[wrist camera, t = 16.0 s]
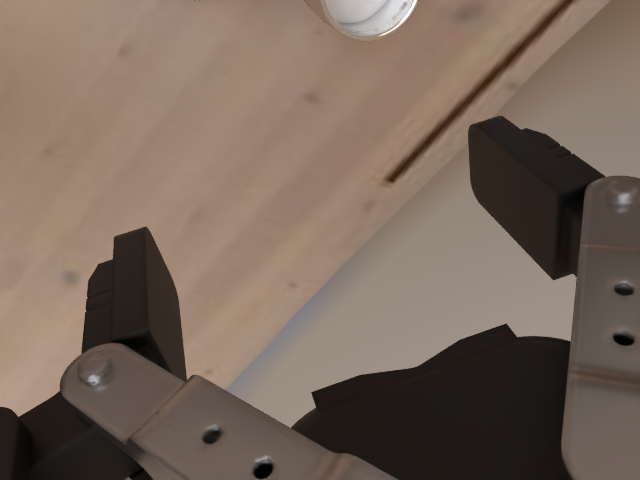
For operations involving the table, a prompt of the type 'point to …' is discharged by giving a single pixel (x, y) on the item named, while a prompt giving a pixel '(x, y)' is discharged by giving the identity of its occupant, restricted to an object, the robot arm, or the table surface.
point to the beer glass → (364, 16)
